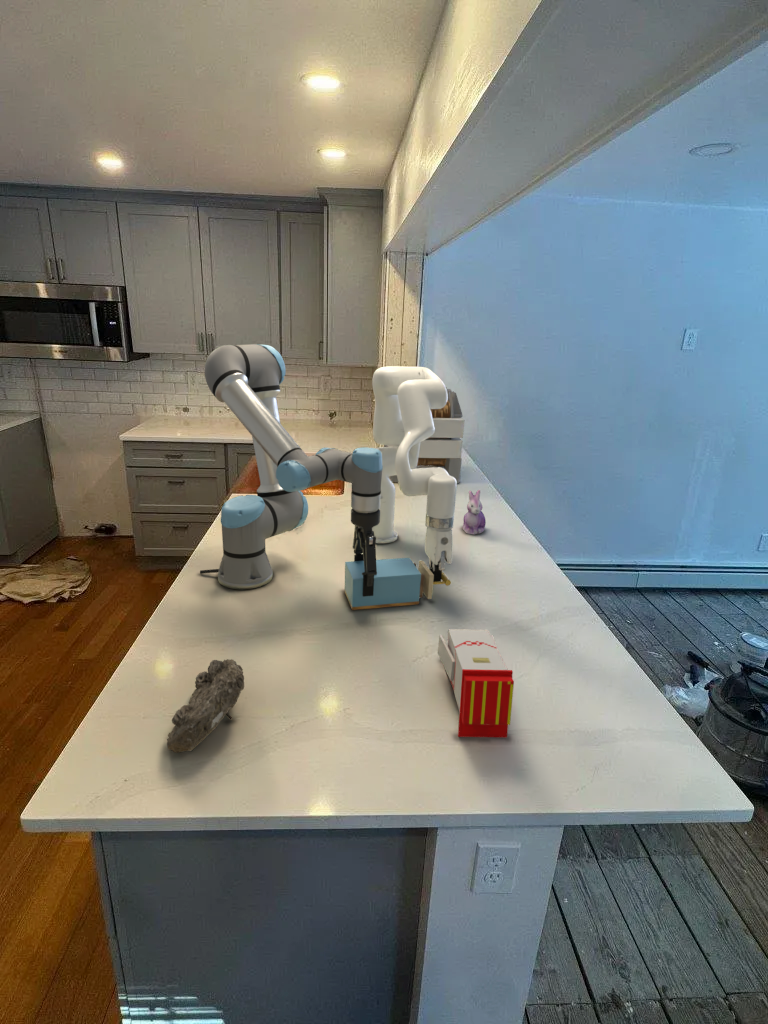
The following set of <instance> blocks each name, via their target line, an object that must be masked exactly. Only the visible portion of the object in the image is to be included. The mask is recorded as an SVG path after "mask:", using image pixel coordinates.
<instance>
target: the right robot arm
mask: <svg viewBox="0 0 768 1024" xmlns="http://www.w3.org/2000/svg"><path fill="white" fill-rule="evenodd" d="M371 386H372V387H371V388H372V391H373V396H374V413H373V422H372V423H373V425H372V439H373V441H374V442H375V444H378V445H381V446H380V447H374V448H375V449H378V450H379V451H381V453H382V465H383V469H382V479H381V495H382V496H383V498H382V499H380V508H379V510H380V523H379V524H378V525H376V526H374V527H373V528H372V531H374V536H375V537H376V544H389V543H393V542H395V541H397V540H398V537H399V534H398V532H397V531H396V530H395V528H394V527H395V510H396V509H395V508H396V507H395V506H396V491H397V490H396V486H395V484H394V482H391V480H390V478H389V476H394V475H397V479H398V482H397V483H398V488H399V489H400V491H401V493H402V495H404V496H406V497H421V496H426V509H425V521H424V525H425V527H426V529H425V539H424V552H425V555H426V556H427V557H428V568H429V569H430V571H431V572H432V573H433V575H434V580H433V582H439V581H442V579H441V577H442V571H446V563H447V564H448V565H451V564H452V562H453V540H454V539H453V530H452V529H454V522H455V512H456V511H455V510H456V501H457V499H456V498H457V488H458V487H457V486H458V483H457V481H456V479H455V478H454V477H452V476H450V475H449V474H448V472H447V471H446V470H445V469H444V468H441V467H437V466H431V467H418V466H417V464H418V457H419V449H420V442H421V441H424V440H426V439H427V438H429V437H430V436H432V435H433V433H434V431H435V427H434V423H433V418H432V413H431V409H441V408H443V407H444V406H445V405H446V403H447V398H448V394H447V389H448V388H447V389H446V387H447V386H446V385H445V382H444V381H443V380H442V379H441V378H440V376H438V375H437V374H436V373H434V372H433V370H432V369H430V368H428V367H425V366H405V365H404V366H402V365H391V366H381V367H378V368H377V369H376V370H375V371H374V372H373V375H372V380H371ZM384 445H399V447H384Z"/></svg>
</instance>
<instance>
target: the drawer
mask: <svg viewBox="0 0 768 1024" xmlns="http://www.w3.org/2000/svg"><path fill="white" fill-rule="evenodd" d="M413 563H414V565H415V566H416V567H417V563H416V562H413ZM429 568H430V567H429V566H428V565H427V564H426V563H425V561H424V560H418V567H417V569H418V570H419V572H420V573H421V582H420V595H419V599H421V598H423V596H424V595H425V597H426V599H427V600H432V599H433V591H434V590H433V589H434V585H445V586H446V587H448V586H450V585H452V581H451V579H449V577H448V576H447V575H446V573H445V572H444V570H442V577H441V581H439V582H433V580H434V575H433V573H432V572H431V571H430V569H429Z"/></svg>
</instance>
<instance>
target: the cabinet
mask: <svg viewBox="0 0 768 1024" xmlns="http://www.w3.org/2000/svg"><path fill="white" fill-rule="evenodd" d="M414 563H415V562H413V560H412V559H411V558H410V557H398V558H382V559H376V568H377V575H374V592H373V596H365V597H363V575H362V573H363V572H365V571H364V561H354V560H352V561H344V589H343V590H344V594H345V596H346V599H347V601H348V604H349V606H350V609H351V611H356V610H369V609H379V608H390V607H399V606H400V607H401V606H402V607H403V606H412V605H413V606H415V605H419V604H420V598H419V595H420V582H421V573H420V572H419V570H418V567H417V565H416V566H415V565H414Z"/></svg>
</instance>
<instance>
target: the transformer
mask: <svg viewBox="0 0 768 1024" xmlns="http://www.w3.org/2000/svg"><path fill="white" fill-rule="evenodd" d="M445 387H446V389H447V394H448V398H447V403H446V405H445V406H444V407H443V408H441V409H431V413H432V418H433V423H434V427H435V431H434V433H433V435H432V436H430V437H429V438H427V439H426V440H424V441H421V442H420V449H419V457H418V464H417V467H441V468H444V469H445V470H446V471H447V472H448V474H449V475H450V476H452V477H454V478H455V479H456V481H457V484H459V483H461V472H462V461H463V460H462V453H463V442H464V441H463V440H462V439H463V438H464V431H465V430H464V429H465V419H464V418H463V411H462V408H461V405H460V402H459V398H458V395H457V392H455V391H453V390H452V389H451V388H447V386H445ZM383 447H399V445H383ZM389 479H390V480H391V482H392V483H398V479H397V475H394V476H389Z"/></svg>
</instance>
